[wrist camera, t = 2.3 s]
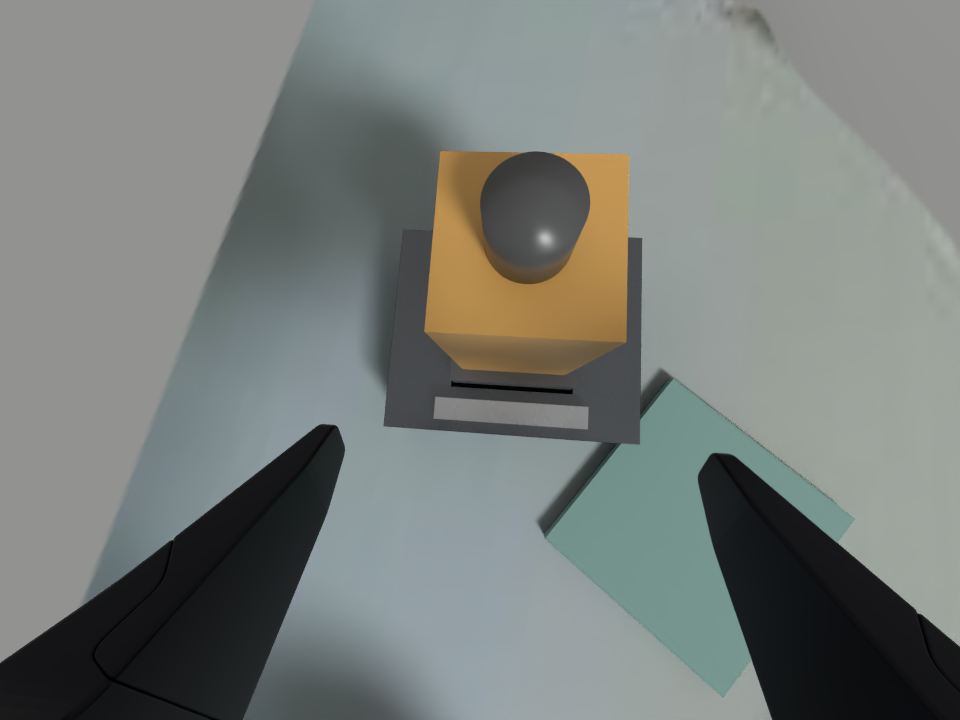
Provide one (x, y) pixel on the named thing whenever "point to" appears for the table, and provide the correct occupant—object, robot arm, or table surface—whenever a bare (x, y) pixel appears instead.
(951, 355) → the table surface
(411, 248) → the socket dock
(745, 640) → the robot arm
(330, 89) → the table surface
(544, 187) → the plug
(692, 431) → the mat
